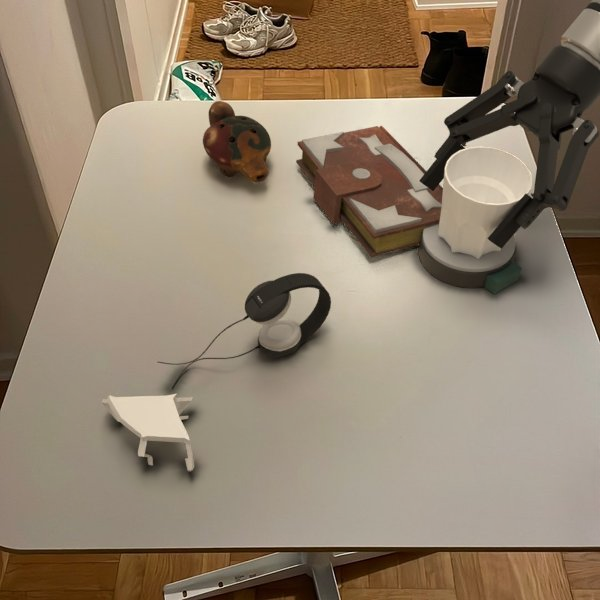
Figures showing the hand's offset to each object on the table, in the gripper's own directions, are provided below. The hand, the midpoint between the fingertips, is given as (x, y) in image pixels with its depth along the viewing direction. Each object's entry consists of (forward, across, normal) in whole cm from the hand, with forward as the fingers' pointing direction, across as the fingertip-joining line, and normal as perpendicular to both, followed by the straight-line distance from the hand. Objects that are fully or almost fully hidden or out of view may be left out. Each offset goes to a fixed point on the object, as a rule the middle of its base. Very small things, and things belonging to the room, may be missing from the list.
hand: (458, 213), depth 89 cm
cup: (+1, 0, -5) cm, 5 cm away
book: (+6, +16, -5) cm, 18 cm away
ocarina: (+15, +33, +4) cm, 36 cm away
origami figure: (+36, -5, +24) cm, 44 cm away
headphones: (+27, -1, +15) cm, 31 cm away
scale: (+4, 0, -8) cm, 8 cm away
